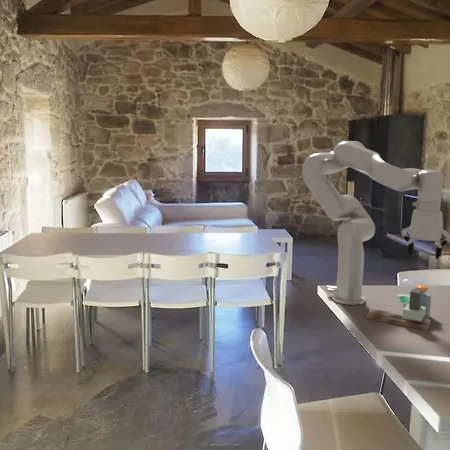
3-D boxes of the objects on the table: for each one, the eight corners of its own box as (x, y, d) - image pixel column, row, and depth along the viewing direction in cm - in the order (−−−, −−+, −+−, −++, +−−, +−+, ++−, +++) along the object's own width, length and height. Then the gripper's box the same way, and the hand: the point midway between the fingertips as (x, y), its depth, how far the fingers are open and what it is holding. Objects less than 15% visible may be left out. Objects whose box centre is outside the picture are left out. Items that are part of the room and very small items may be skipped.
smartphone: (414, 294, 212) (423, 307, 197) (413, 296, 212) (423, 309, 197) (395, 293, 212) (403, 305, 198) (395, 295, 213) (403, 307, 198)
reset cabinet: (408, 317, 187) (410, 295, 185) (412, 312, 192) (413, 291, 190) (426, 320, 184) (428, 298, 182) (429, 315, 189) (431, 294, 187)
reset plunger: (413, 301, 186) (414, 287, 185) (415, 298, 189) (416, 284, 189) (425, 303, 184) (426, 289, 183) (427, 300, 187) (428, 286, 187)
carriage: (402, 317, 178) (404, 292, 177) (407, 311, 184) (409, 286, 183) (421, 321, 175) (423, 295, 174) (425, 315, 181) (427, 289, 180)
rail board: (366, 318, 185) (367, 311, 184) (372, 313, 191) (372, 306, 190) (426, 330, 175) (427, 323, 174) (430, 324, 181) (431, 317, 180)
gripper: (399, 205, 182) (395, 255, 185) (454, 210, 173) (449, 262, 176) (404, 203, 188) (401, 251, 191) (457, 207, 179) (452, 258, 182)
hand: (424, 256), depth 184 cm, fingers open, 8 cm apart
